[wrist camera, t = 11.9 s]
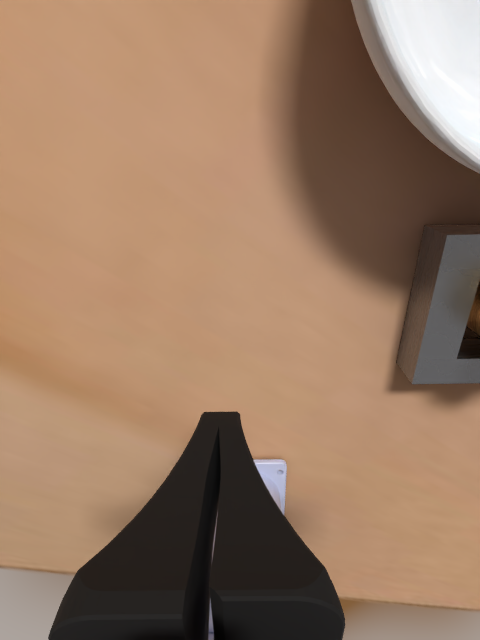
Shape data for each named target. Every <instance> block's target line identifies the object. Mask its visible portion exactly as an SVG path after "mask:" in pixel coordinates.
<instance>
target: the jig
mask: <svg viewBox="0 0 480 640" xmlns="http://www.w3.org/2000/svg"><path fill="white" fill-rule="evenodd" d="M479 281H480V224H457V225H425V226H424V231H423V236H422V241H421V246H420V251H419V255H418V260H417V265H416V270H415V275H414V280H413V285H412V289H411V294H410V299H409V304H408V309H407V314H406V319H405V323H404V328H403V333H402V338H401V343H400V348H399V352H398V357H397V364H398V365H399V367H400V368H401V369H402V371H403V372H404V374H405V375H406V377H407V378H408V379H409V381H410V382H411V384H458V383H480V338H463V335H464V332H465V328H466V325H467V322H468V318H469V315H470V311H471V308H472V305H473V301H474V298H475V294H476V291H477V287H478V284H479Z"/></svg>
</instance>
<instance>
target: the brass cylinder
mask: <svg viewBox="0 0 480 640" xmlns="http://www.w3.org/2000/svg"><path fill="white" fill-rule="evenodd" d="M466 326H467V327H469V328H470V329H471V330H472V331H474V332H475V333H476V334H477V335H478V336H480V281H479V284H478V287H477V291H476V294H475V298H474V301H473V305H472V308H471V311H470V315H469V318H468V322H467V325H466Z"/></svg>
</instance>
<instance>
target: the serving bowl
mask: <svg viewBox="0 0 480 640" xmlns="http://www.w3.org/2000/svg"><path fill="white" fill-rule="evenodd" d="M351 2H352V6H353V10H354V14H355V18H356V21H357V24H358V27H359V30H360V33H361V36H362V38H363V41H364V44H365V47H366V49H367V51H368V54H369V56H370V58H371V60H372V63H373V65H374V67H375V69H376V71H377V73H378V75H379V76H380V78H381V80H382V82H383V84H384V85H385V87H386V89H387V90H388V92H389V94H390V95H391V97H392V98H393V100H394V101H395V103H396V104H397V105H398V107H399V108H400V110H401V111H402V112H403V113H404V115H405V116H406V117H407V118H408V119H409V120H410V122H411V123H412V124H413V125H414V126H415V127H416V128H417V129H418V130H419V131H420V132H421V133H422V134H423V135H424V136H425V137H426V138H427V139H428V140H429V141H430V142H432V143H433V144H434V145H435V146H437V147H438V148H439V149H440V150H442V151H443V152H444V153H446V154H447V155H449V156H450V157H451V158H453V159H454V160H456V161H458V162H459V163H461V164H463V165H464V166H466V167H468V168H470V169H472V170H473V171H475V172H477V173H479V174H480V0H351Z"/></svg>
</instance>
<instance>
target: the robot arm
mask: <svg viewBox="0 0 480 640" xmlns="http://www.w3.org/2000/svg"><path fill="white" fill-rule="evenodd" d="M279 470H280V471H279ZM286 472H287V465H286V462H285V461H284V460H281V459H267V460H253V458H252V456H251V453H250V451H249V448H248V445H247V443H246V440H245V437H244V433H243V430H242V426H241V420H240V414H239V413H238V412H204V413H203V414H202V415H201V418H200V421H199V423H198V425H197V427H196V430H195V432H194V434H193V436H192V438H191V439H190V441H189V443H188V445H187V447H186V448H185V450H184V452H183V454H182V455H181V457H180V459H179V460H178V462H177V463H176V465H175V466H174V468H173V469H172V471H171V472H170V474H169V475H168V477H167V478H166V480H165V481H164V482H163V484H162V485H161V486H160V488H159V489H158V490H157V492H156V493H155V494H154V495H153V497H152V498H151V499H150V500H149V501H148V503H147V504H146V505H145V506H144V507H143V509H142V510H141V511H140V512H139V513H138V514H137V515H136V516H135V518H134V519H133V520H132V521H131V522H130V523H129V524H128V525H127V526H126V527H125V528H124V529H123V530H122V531H121V532H120V533H119V534H118V535H117V536H116V537H115V538H114V539H113V540H112V541H111V542H110V543H109V544H108V545H107V546H105V547H104V548H103V549H102V550H101V551H100V552H99V553H98V554H96V555H95V556H94V557H93V558H92V559H91V560H89V561H88V562H87V563H86V564H85V565H84V566H83V567H81V568H80V569H79V570H78V571H77V573H76V575H75V576H74V578H73V580H72V582H71V584H70V586H69V588H68V590H67V592H66V594H65V596H64V598H63V600H62V602H61V604H60V607H59V610H58V612H57V615H56V618H55V620H54V623H53V625H52V628H51V631H50V634H49V637H48V639H49V640H342V638H343V633H344V628H345V618H344V613H343V610H342V607H341V604H340V601H339V598H338V595H337V593H336V590H335V588H334V586H333V583H332V581H331V579H330V577H329V575H328V573H327V570H326V568H325V567H324V566H323V565H322V563H321V562H320V561H319V560H318V559H317V558H316V557H315V555H314V554H313V553H312V552H311V551H310V549H309V548H308V547H307V546H306V545H305V543H304V542H303V541H302V539H301V538H300V537H299V536H298V534H297V533H296V532H295V530H294V529H293V528H292V526H291V525H290V523H289V522H288V520H287V519H286V517H285V516H284V509H285V490H286Z"/></svg>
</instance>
